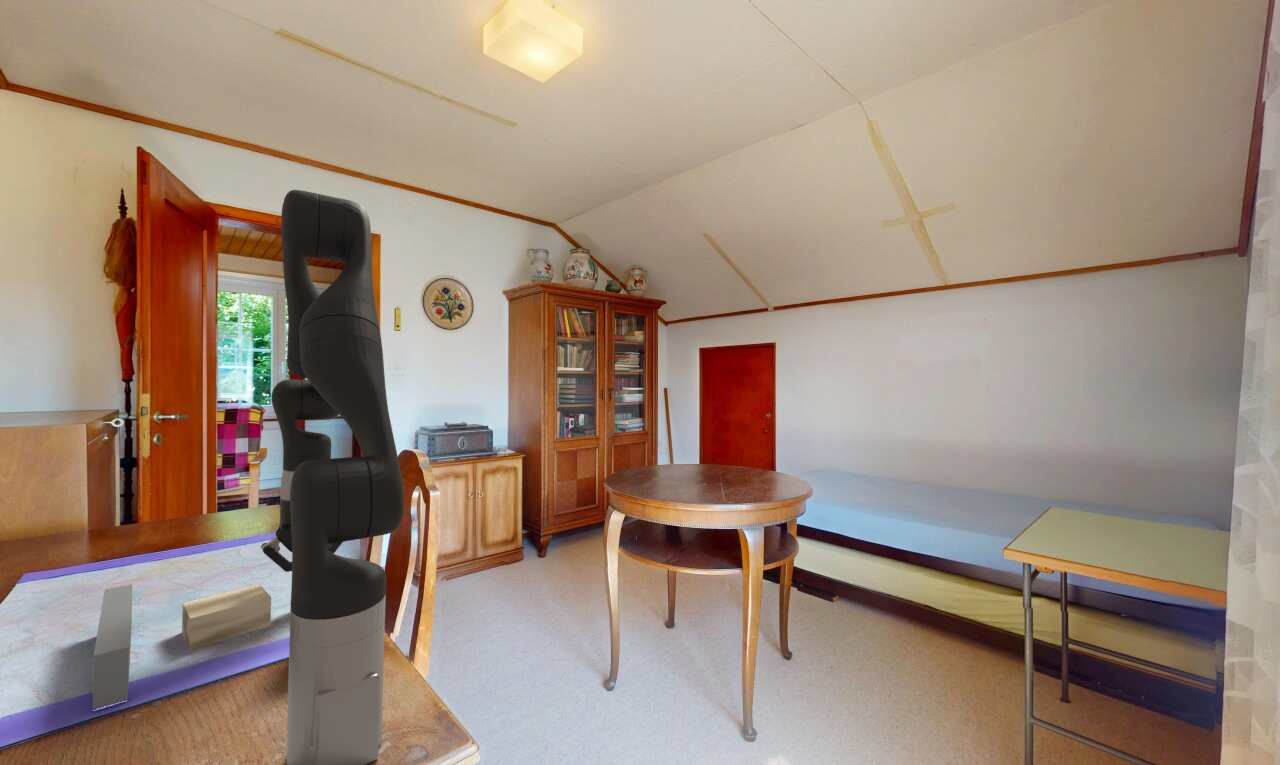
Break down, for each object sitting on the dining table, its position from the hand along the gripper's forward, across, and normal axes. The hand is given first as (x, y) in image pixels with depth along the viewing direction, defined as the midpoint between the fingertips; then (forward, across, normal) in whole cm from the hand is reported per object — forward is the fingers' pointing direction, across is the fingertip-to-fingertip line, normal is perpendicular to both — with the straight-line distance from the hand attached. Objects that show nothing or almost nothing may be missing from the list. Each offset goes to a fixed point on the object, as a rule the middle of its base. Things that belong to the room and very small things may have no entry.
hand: (304, 590), depth 88 cm
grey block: (+3, -23, -2) cm, 23 cm away
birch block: (+4, -10, 0) cm, 11 cm away
